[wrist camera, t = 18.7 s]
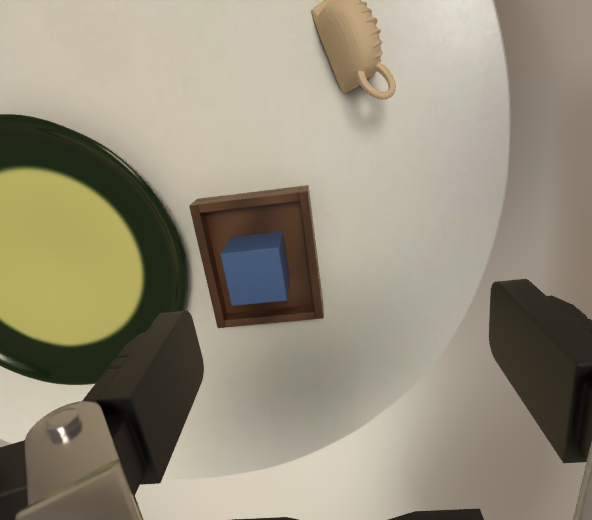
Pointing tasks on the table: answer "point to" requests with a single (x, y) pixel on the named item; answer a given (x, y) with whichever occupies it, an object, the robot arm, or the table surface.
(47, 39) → the table surface
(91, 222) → the plate
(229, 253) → the cube
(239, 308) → the tray
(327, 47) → the decorative ornament
